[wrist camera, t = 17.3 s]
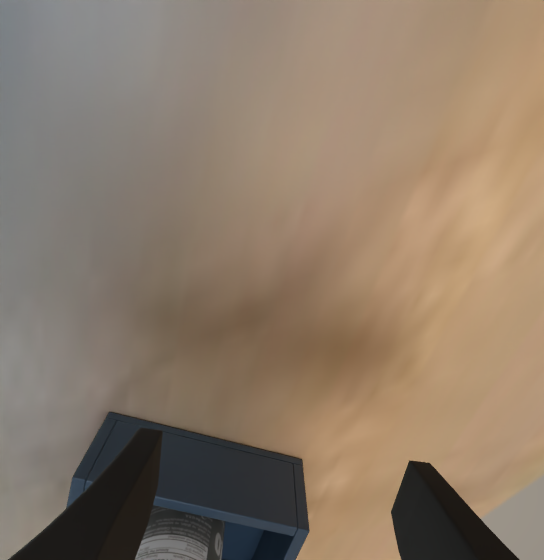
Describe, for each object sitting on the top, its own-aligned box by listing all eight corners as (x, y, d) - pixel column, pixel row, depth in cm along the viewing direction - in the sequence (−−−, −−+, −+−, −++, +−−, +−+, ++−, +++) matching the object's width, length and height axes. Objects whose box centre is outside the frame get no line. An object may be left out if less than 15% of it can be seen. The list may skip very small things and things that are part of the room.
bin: (83, 528, 25) (46, 607, 21) (109, 411, 22) (72, 477, 18) (255, 564, 27) (253, 646, 22) (302, 458, 24) (309, 531, 19)
